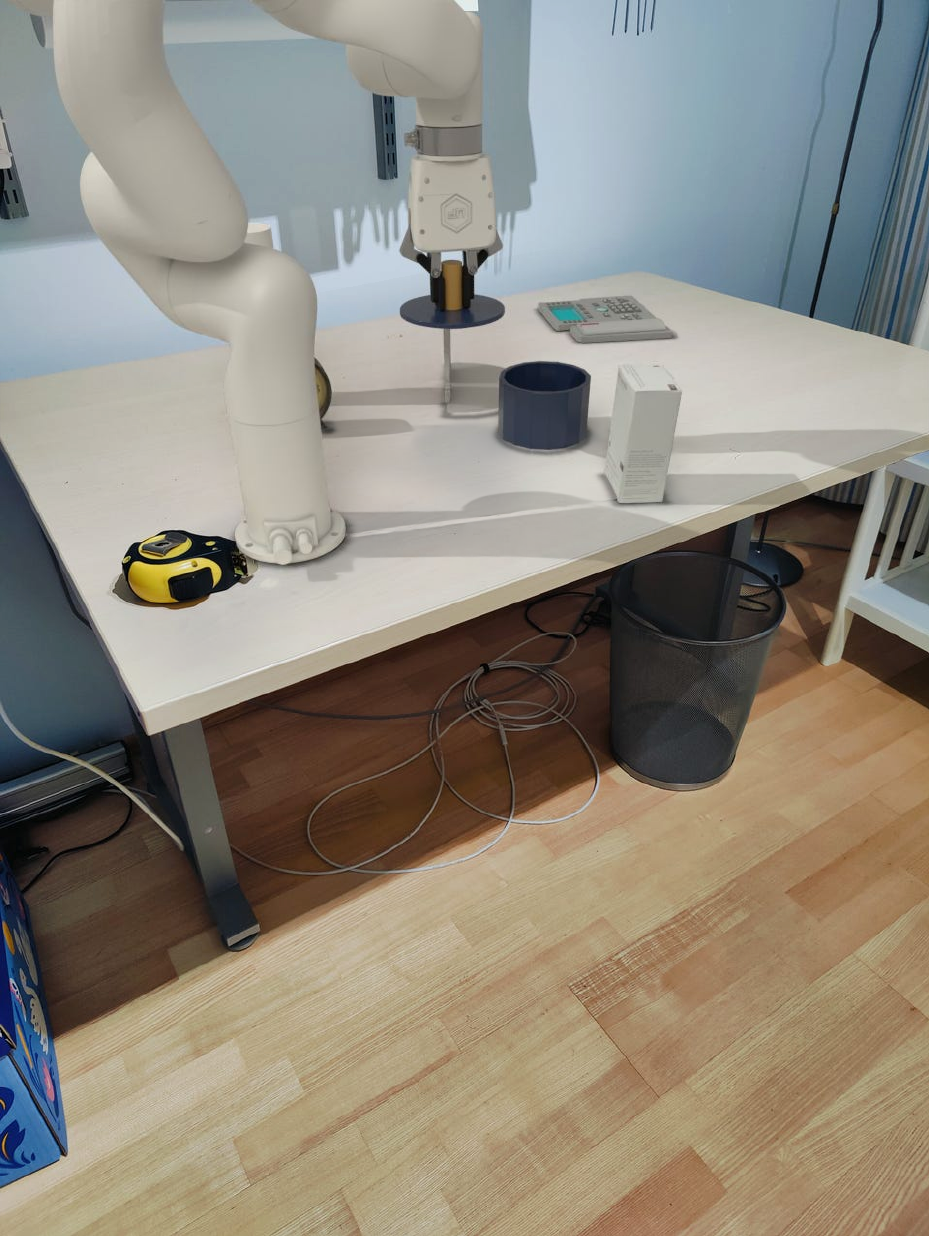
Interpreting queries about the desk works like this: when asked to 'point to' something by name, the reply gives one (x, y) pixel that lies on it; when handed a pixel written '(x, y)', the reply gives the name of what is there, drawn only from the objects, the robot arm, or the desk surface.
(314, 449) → the robot arm
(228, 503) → the desk surface
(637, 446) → the cosmetic box
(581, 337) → the office telephone
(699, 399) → the desk surface
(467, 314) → the tin lid
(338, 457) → the desk surface
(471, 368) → the grey metal bookend
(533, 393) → the tin
